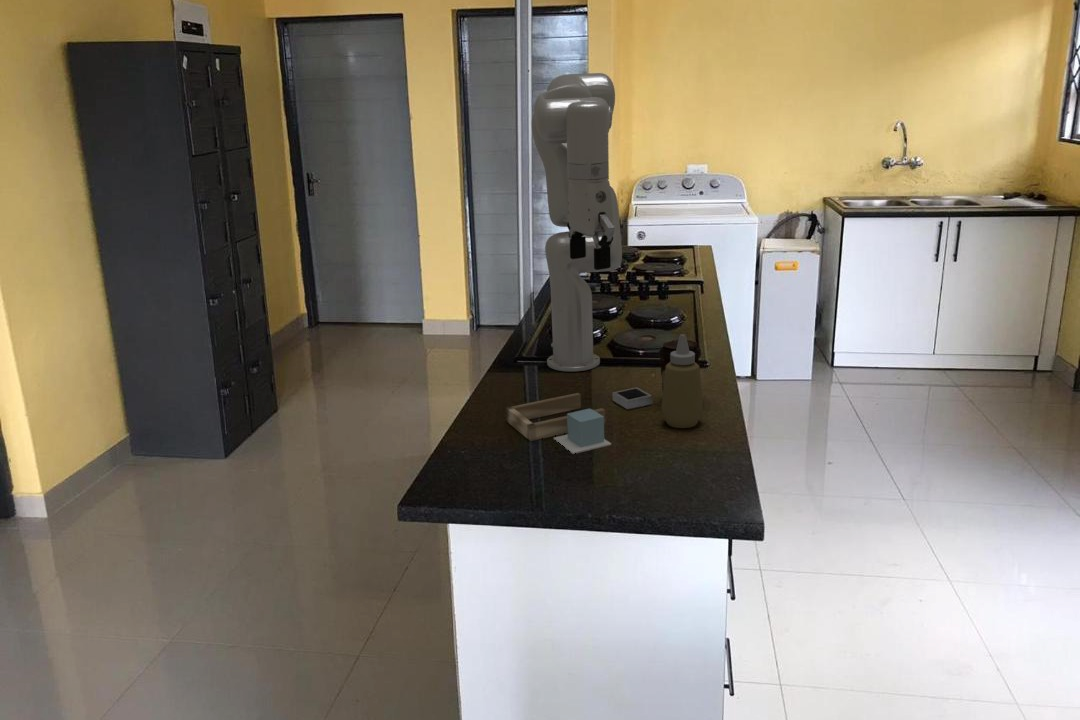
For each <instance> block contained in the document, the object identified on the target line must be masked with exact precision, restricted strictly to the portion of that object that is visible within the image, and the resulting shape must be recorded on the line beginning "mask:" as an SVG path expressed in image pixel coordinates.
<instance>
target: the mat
mask: <svg viewBox="0 0 1080 720" xmlns="http://www.w3.org/2000/svg"><path fill="white" fill-rule="evenodd" d="M553 440H554V441H555V440H556V441H555V442H557V443H558V442H559V443H560V444H561V445H560V444H559V443H558V444H559V445H560V446H562V445H563V446H564V447H565V448H564V447H563V446H562V447H563V448H564V449H565V450H567V451H568V450H569V451H570V452H569V451H568V452H569V453H571V454H572V455H575V453H576V454H579V453H583V452H588V451H591V450H597V449H600V448H604V447H609V446H612V442H610V441H609V440H607V439H605V438H604V442H600V443H596V444H593V445H589V446H585V447H580V446H578V445H577V444H575V443H574V442H573V441H571V440H570V439H568V433H566V434H562V435H557V436H556V437H555V436H553Z"/></svg>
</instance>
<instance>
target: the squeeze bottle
mask: <svg viewBox="0 0 1080 720" xmlns="http://www.w3.org/2000/svg"><path fill="white" fill-rule="evenodd" d="M677 340H678V345H677V349H676V351H673V352H671V354H670V363H668V364H667V365H666V368H665V377H664V386H663V390H662V397H661V411H662V413H663V416H664V419H665V422H666V424H667V425H668V426H669V427H672V428H676V429H687V428H689V429H690V428H692V427H695V426H696V425H697V424H698V422H699V420H700V416H701V415H702V412H703V409H704V404H703V403H704V402H703V393H702V391H703V390H702V380H701V369H700V365H699V363H698V364H697V363H695V353H694V352H692V351H689V347H688V343H687V340H688V339H687V334H685V333H681V334H679V336H678V339H677Z"/></svg>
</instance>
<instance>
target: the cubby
mask: <svg viewBox="0 0 1080 720" xmlns="http://www.w3.org/2000/svg"><path fill="white" fill-rule="evenodd" d="M581 397H582V394H580V393H579V392H576V393H571V394H567V395H561V396H556V397H551V398H547V399H542V400H537V401H532V402H527V403H524V404H523V403H522V404H518V405H513V406H507V407H505V412H506V416H505V417H506V422H507V423H508V425H510V426H512V427H513V428H514V429H515V430H516V431H518V432H519V433H520V434H521V435H522V436H524V437H525V438H526V439H527V440H528V441H529V442H533V441H538V440H541V439H542V438H543V439H546V438H551V437H555V435H556V436H561V435H565V434H568V427H567V415H565V416H560V417H556V418H550V419H546V420H542V421H537V422H533V421H530V420H531V419H532V420H533V419H537V418H542V417H546V416H552V415H555V414H556V415H557V414H561V413H565V412H570V411H573V410H580V409H581V408H582V398H581ZM593 410H594V411H595V412H597V413H599V414H600V415H602V416H604V426H605V425H606V409H604V408H602V407H601V408H597V409H593ZM564 433H565V434H564ZM543 439H542V440H543Z"/></svg>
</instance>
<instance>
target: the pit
mask: <svg viewBox="0 0 1080 720" xmlns="http://www.w3.org/2000/svg"><path fill="white" fill-rule="evenodd" d="M612 402H613V403H614V404H617V405H618V406H620V407H621V408H623V409H624V410H626V411H630V410H634V409H640V408H643V407H649V406H652V405H653V395H652V394H650V393H649V392H646V391H645V390H642V389H641V388H639V387H637V386H636V387H632V388H627V389H622V390H617V391H613V392H612Z"/></svg>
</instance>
